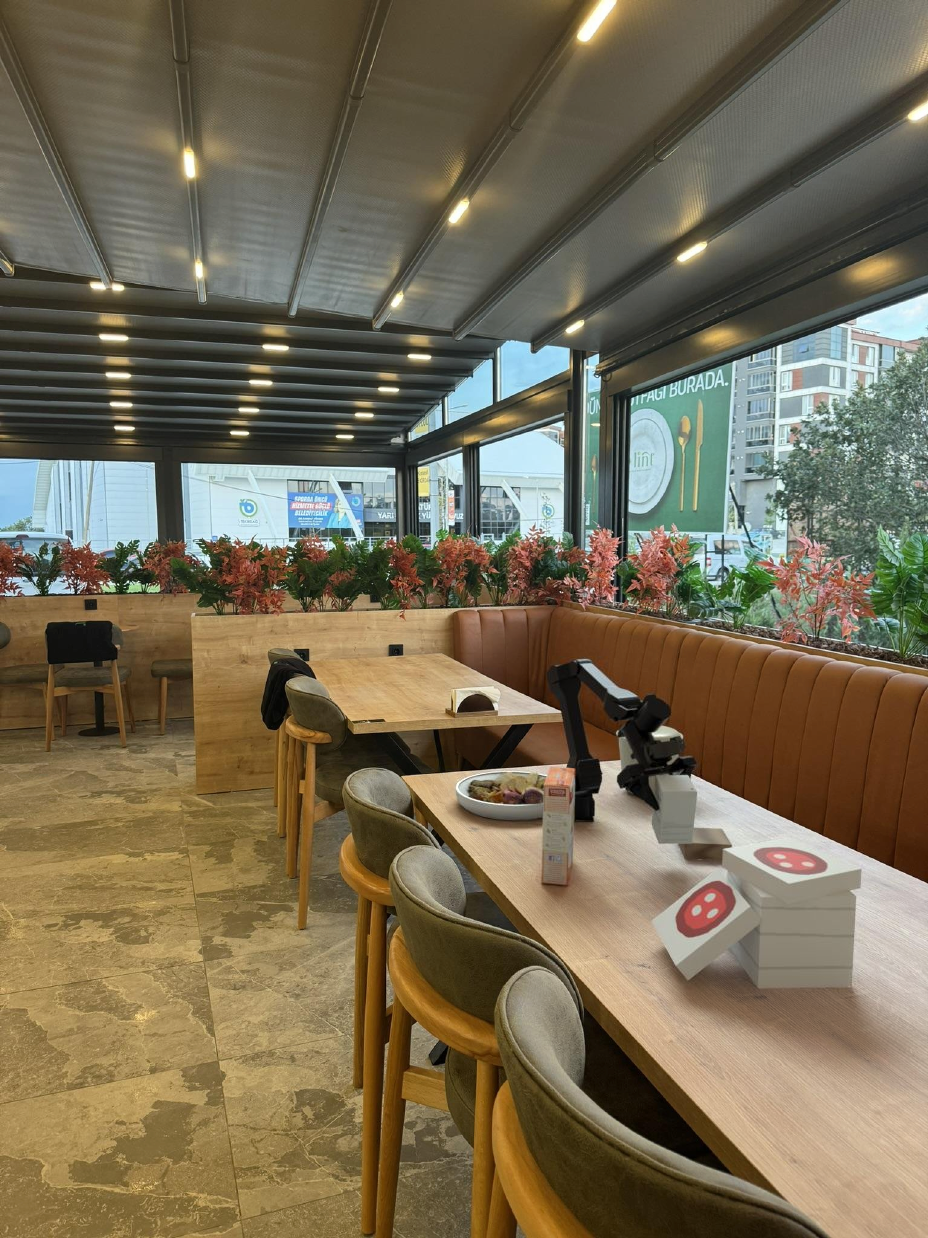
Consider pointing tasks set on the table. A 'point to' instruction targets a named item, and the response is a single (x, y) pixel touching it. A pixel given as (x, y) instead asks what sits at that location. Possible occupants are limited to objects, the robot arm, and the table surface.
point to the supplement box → (674, 809)
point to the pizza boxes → (769, 916)
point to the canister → (660, 734)
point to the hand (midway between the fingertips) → (675, 806)
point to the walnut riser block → (706, 844)
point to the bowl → (503, 795)
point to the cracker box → (558, 825)
